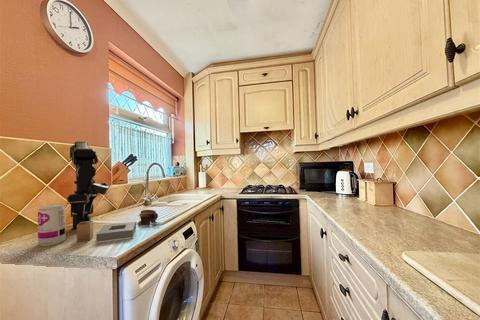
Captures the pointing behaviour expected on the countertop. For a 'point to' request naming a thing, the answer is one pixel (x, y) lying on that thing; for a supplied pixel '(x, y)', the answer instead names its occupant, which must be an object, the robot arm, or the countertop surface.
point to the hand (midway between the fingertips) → (85, 215)
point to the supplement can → (51, 224)
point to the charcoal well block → (116, 232)
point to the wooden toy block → (84, 231)
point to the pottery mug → (147, 217)
